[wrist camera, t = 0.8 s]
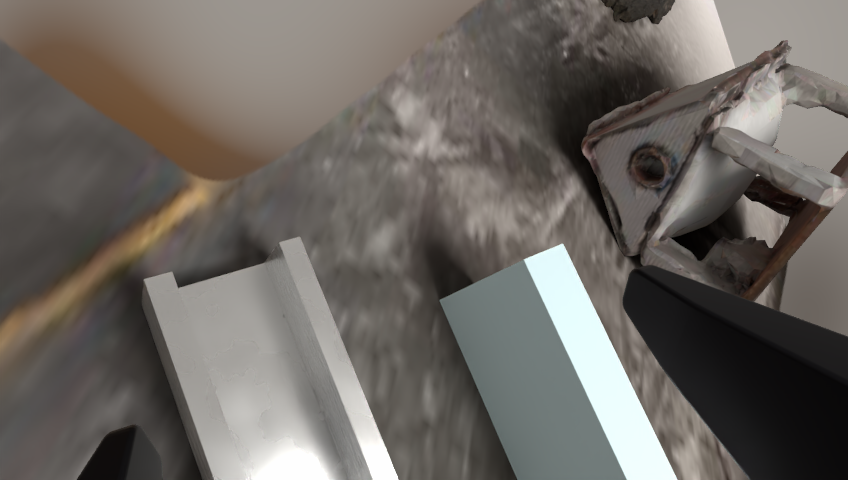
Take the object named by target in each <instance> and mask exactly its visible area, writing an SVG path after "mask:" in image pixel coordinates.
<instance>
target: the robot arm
mask: <svg viewBox="0 0 848 480" xmlns="http://www.w3.org/2000/svg"><path fill="white" fill-rule="evenodd" d="M623 307H624V309H625V311H626V313H627V315H628V316H629V318H630V319H631V321H632V322H633V324H634V326H635V327H636V329H637V330H638V332H639V333H640V335H641V336H642V338H643V339H644V341H645V343H646V344H647V346H648V347H649V349H650V350H651V352H652V353H653V355H654V357H655V358H656V360H657V361H658V363H659V364H660V366H661V367H662V369H663V370H664V372H665V373H666V374H667V376H668V377H669V378H670V380H671V381H672V382H673V384H674V385H675V386H676V387H677V389H678V390H679V391H680V393H681V394H682V395H683V396H684V398H685V399H686V400H687V401H688V403H689V404H690V405H691V406H692V408H693V409H694V410H695V411H696V413H697V414H698V415H699V417H700V418H701V419H702V420H703V422H704V423H705V424H706V425H707V427H708V428H709V429H710V430H711V432H712V433H713V434H714V435H715V437H716V438H717V439H718V441H719V442H720V443H721V444H722V446H723V447H724V448H725V449H726V451H727V452H728V453H729V454H730V456H731V457H732V458H733V459H734V461H735V462H736V463H737V465H738V466H739V467H740V468H741V470H742V471H743V472H744V473H745V475H746V476H747V477H748V478H749V480H848V336H845V335H842V334H839V333H837V332H834V331H831V330H829V329H826V328H823V327H821V326H818V325H815V324H812V323H810V322H807V321H804V320H801V319H799V318H796V317H793V316H790V315H788V314H785V313H783V312H780V311H777V310H774V309H772V308H769V307H766V306H763V305H761V304H758V303H755V302H753V301H750V300H747V299H744V298H742V297H739V296H736V295H734V294H731V293H728V292H725V291H723V290H720V289H717V288H715V287H712V286H709V285H706V284H704V283H701V282H698V281H695V280H693V279H690V278H687V277H685V276H682V275H679V274H676V273H674V272H671V271H668V270H666V269H663V268H660V267H657V266H654V265H646V266H643V267H639V268H636V269H634V270H632V271H631V272H630V274H629V277H628V281H627V284H626V288H625V292H624V295H623ZM77 480H163V473H162V463H161V459H160V455H159V453H158V451H157V450H156V448H155V447H154V445H153V444H152V442H151V441H150V439H149V438H148V436H147V434H146V433H145V431H144V430H143V429H142V427H141V426H139V425H136V424H135V425H130V426H127V427H124V428H121V429H117V430H114V431H112V432H110V433H108V434H107V435H106V436H105V437H104V438H103V440H102V441H101V443H100V444H99V446H98V448H97V449H96V451H95V452H94V454H93V455H92V457H91V458H90V460H89V462H88V463H87V465H86V466H85V468H84V469H83V471H82V472H81V474H80V475H79V477H78V479H77Z"/></svg>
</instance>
